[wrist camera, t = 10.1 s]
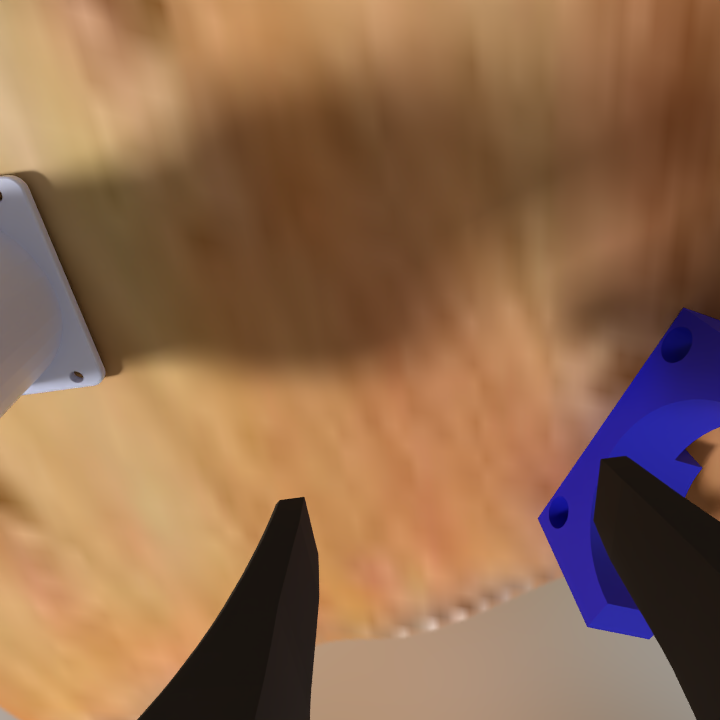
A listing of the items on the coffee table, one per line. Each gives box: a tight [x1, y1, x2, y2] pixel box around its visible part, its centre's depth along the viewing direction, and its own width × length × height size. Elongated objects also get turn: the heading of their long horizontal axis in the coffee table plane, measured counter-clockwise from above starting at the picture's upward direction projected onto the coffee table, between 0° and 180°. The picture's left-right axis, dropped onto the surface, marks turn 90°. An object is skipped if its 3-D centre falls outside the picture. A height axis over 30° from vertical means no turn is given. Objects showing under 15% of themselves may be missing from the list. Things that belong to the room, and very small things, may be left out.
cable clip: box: [538, 307, 720, 639], centre depth 22 cm, size 12×4×6 cm, turn 160°
